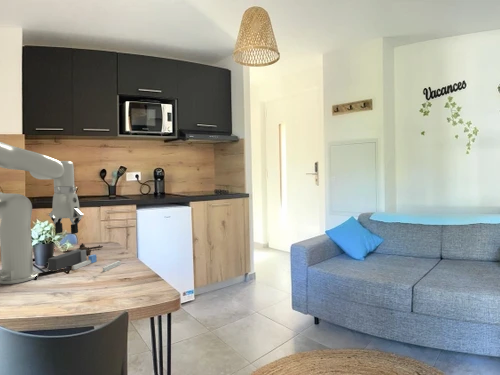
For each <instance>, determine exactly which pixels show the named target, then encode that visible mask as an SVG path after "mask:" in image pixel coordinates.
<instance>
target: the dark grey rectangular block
mask: <svg viewBox="0 0 500 375" xmlns="http://www.w3.org/2000/svg"><path fill="white" fill-rule="evenodd" d="M75 249H76V250H75ZM75 249H72V250H73V251H71V252H67V253H62V254H59V255H55V256H52V257H49V258H47V263H48V267H47V269H48V271H49V270H51V269H52V270H57V269H61V268H65V267H66V266H71V267H73V266H74V265H76V264H79V263H82V262H84V261H87V260H88V259H87V253H86V250H81V249H78V248H75ZM65 269H66V268H65Z"/></svg>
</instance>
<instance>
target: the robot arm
mask: <svg viewBox="0 0 500 375" xmlns="http://www.w3.org/2000/svg"><path fill="white" fill-rule="evenodd" d="M0 168H2V169H7V170H13V171H14V170H15V171H17V170H18V171H25V172H29V174H30V175H31V177H33V178H35V179H37V180H53V189H54V190H53V191H54V192H53V193H54V194H53V196H52V210H51V211H50V212H49V214H48V216H49V218H50V219H51V221H53V222H52V223H53V224H54V229H55V234H60V233H63V223H62V221H63V219H69V220H70V221H69V222H71V224H70V234H71V235H74V234H78V233H79V223H80V222H81V220H82V219H83V216H84V213H82V212H81V208H80V201H79V198H78V194H77V193H76V191H77V188H76V187H75V186H76V185H75V168H74V163H73V162H72V161H70V160H58V159H55V158H53V157H51V156H48V155H45V154H42V153H39V152H36V151H33V150H29V149H28V150H27V149H25V148H21V147H19V146H15V145H10V144H8V143H5V142H2V141H0ZM32 214H33V204H32V202H31V200H30V199H29V198H28V197H27V196H26V195H23V194H20V193H4V192H2V191H0V261H1V269H0V284H1V285H12V284H20V283H25V282H30V281H32V280H34V279H36V278H37V277H39V272H38V271H36V270H34V261H33V245H32V243H33V242H32V228H31V225H32V224H31V223H32ZM36 276H37V277H36ZM35 277H36V278H35Z"/></svg>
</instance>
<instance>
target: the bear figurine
mask: <svg viewBox="0 0 500 375" xmlns="http://www.w3.org/2000/svg"><path fill="white" fill-rule="evenodd" d="M103 247H104V246H103V245H100V244H99V245H98V246H91V247H88V246H86V245H85V244H84V243H81V244H79V247H78V248H75V249H66V250H67V251H66V250H63V251H62V254H65V253H68V252H71V251H73V250H76V249H81V250H86V256H90V255H91V253H92V250H94V249H95V250H96V249H100V248H101V249H102V248H103Z"/></svg>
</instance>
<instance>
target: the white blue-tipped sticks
mask: <svg viewBox="0 0 500 375" xmlns="http://www.w3.org/2000/svg"><path fill="white" fill-rule="evenodd" d="M87 256H88V259H87V261H84V262H82V263H79V264H76V265H73V266H72V270H73V271H74V270H77V269H80V268H83V267H86V266H87V265H90V264H93V263H96V262H97V254H90V255H87ZM121 264H122V263H121V260H117V261H115V262H113V263H110V264H108V265H105V266H104V267H102V272H107V271H110V270H111V269H114V268H116V267H118V266H120V265H121Z"/></svg>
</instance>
